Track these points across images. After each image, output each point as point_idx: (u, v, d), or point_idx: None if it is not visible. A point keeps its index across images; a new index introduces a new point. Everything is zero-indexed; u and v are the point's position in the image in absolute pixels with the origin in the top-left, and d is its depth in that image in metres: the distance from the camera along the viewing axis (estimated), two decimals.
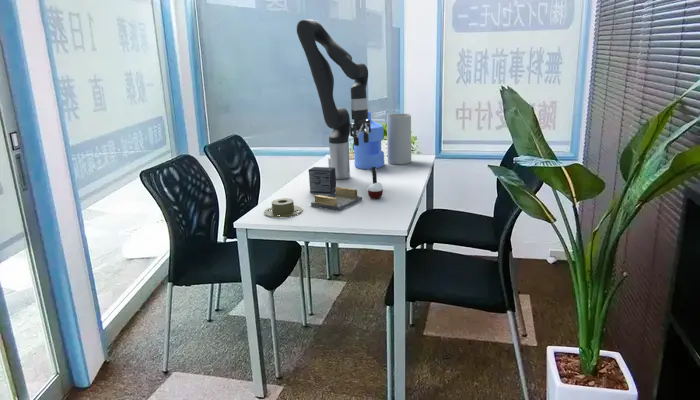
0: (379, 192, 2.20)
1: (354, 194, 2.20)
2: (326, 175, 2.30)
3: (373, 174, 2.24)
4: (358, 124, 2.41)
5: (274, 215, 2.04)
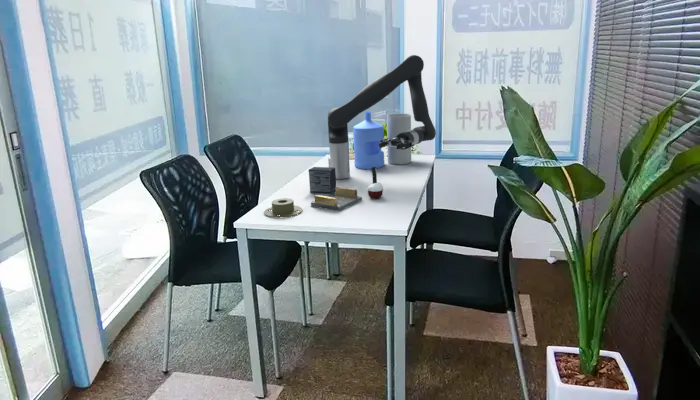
0: (379, 192, 2.20)
1: (354, 194, 2.20)
2: (326, 175, 2.30)
3: (373, 174, 2.24)
4: None
5: (274, 215, 2.04)
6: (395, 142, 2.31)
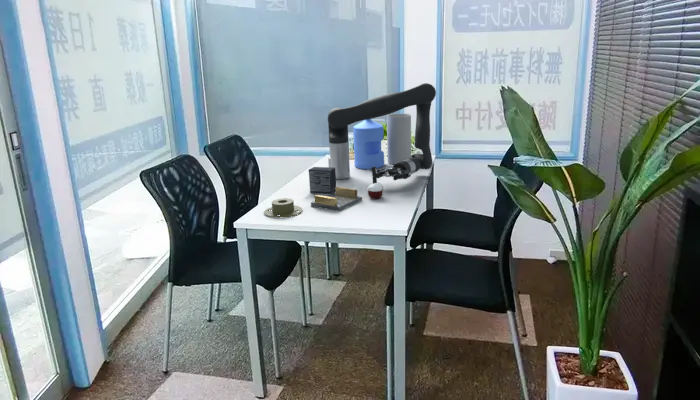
0: (379, 192, 2.20)
1: (354, 194, 2.20)
2: (326, 175, 2.30)
3: (373, 174, 2.24)
4: None
5: (274, 215, 2.04)
6: (392, 172, 2.32)
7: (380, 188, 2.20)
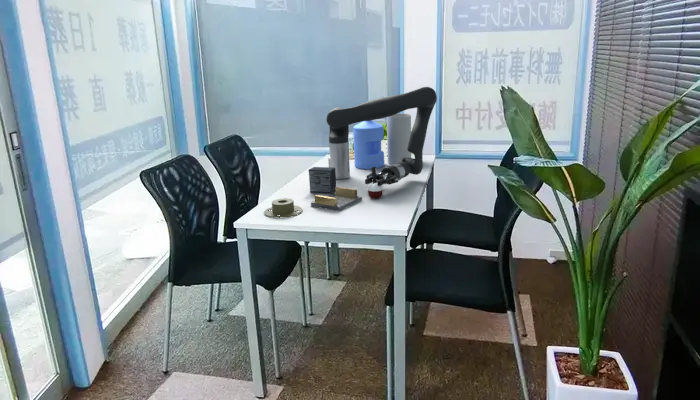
0: (379, 192, 2.20)
1: (354, 194, 2.20)
2: (326, 175, 2.30)
3: (373, 174, 2.24)
4: None
5: (274, 215, 2.04)
6: (380, 177, 2.25)
7: (380, 188, 2.20)
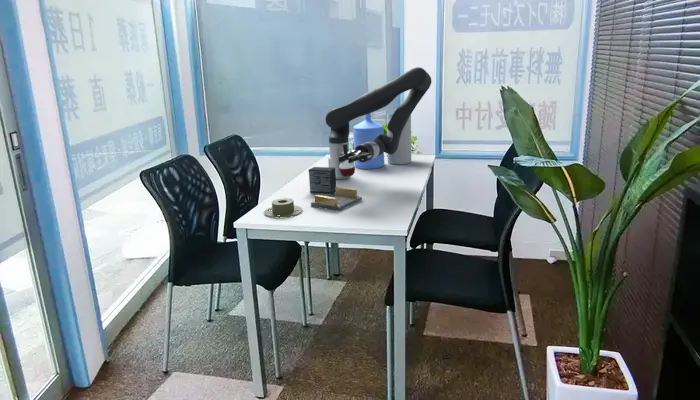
0: (350, 169, 2.13)
1: (354, 194, 2.20)
2: (326, 175, 2.30)
3: (345, 151, 2.17)
4: None
5: (274, 215, 2.04)
6: (353, 155, 2.18)
7: (351, 165, 2.13)
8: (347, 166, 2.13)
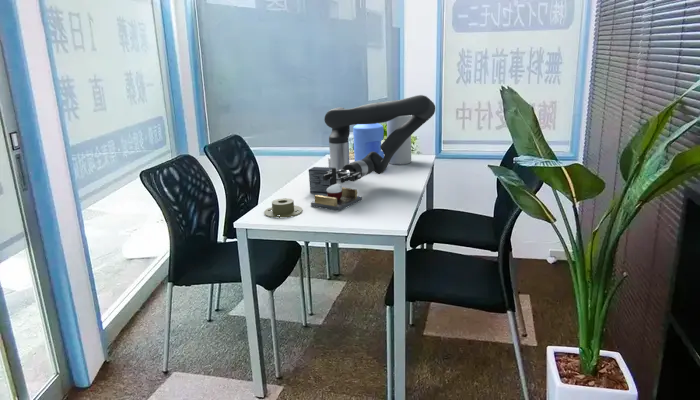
0: (338, 194, 2.14)
1: (354, 194, 2.20)
2: None
3: (333, 175, 2.19)
4: None
5: (274, 215, 2.04)
6: (341, 174, 2.18)
7: (339, 190, 2.14)
8: (334, 190, 2.14)
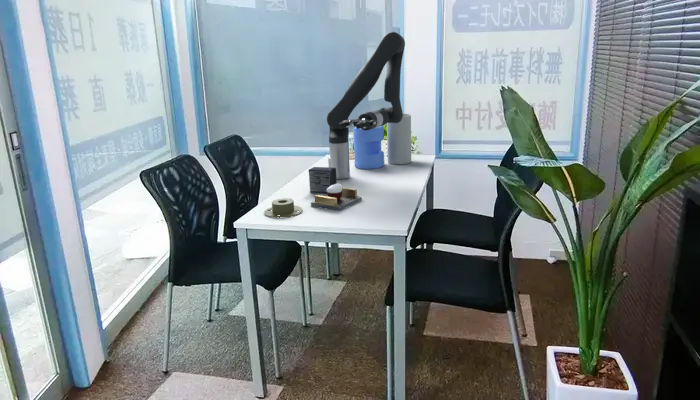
0: (338, 194, 2.14)
1: (354, 194, 2.20)
2: (326, 175, 2.30)
3: (333, 175, 2.19)
4: None
5: (274, 215, 2.04)
6: (356, 122, 2.23)
7: (339, 190, 2.14)
8: (334, 190, 2.14)
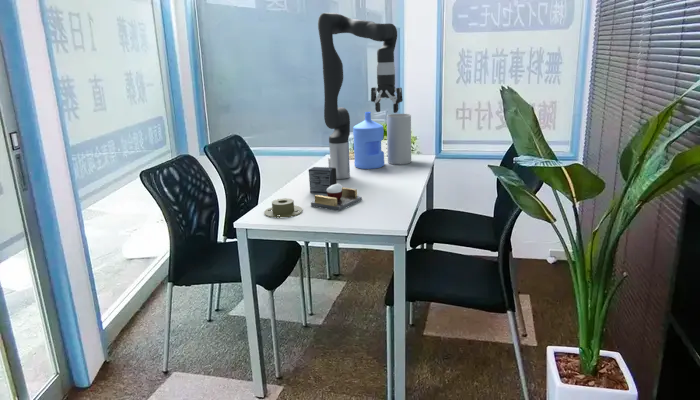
0: (338, 194, 2.14)
1: (354, 194, 2.20)
2: (326, 175, 2.30)
3: (333, 175, 2.19)
4: (378, 89, 2.28)
5: (274, 215, 2.04)
6: None
7: (339, 190, 2.14)
8: (334, 190, 2.14)
